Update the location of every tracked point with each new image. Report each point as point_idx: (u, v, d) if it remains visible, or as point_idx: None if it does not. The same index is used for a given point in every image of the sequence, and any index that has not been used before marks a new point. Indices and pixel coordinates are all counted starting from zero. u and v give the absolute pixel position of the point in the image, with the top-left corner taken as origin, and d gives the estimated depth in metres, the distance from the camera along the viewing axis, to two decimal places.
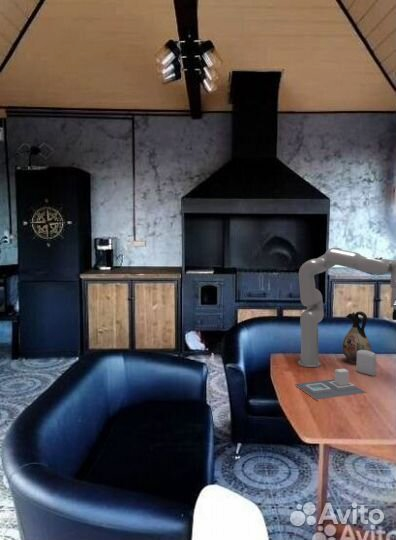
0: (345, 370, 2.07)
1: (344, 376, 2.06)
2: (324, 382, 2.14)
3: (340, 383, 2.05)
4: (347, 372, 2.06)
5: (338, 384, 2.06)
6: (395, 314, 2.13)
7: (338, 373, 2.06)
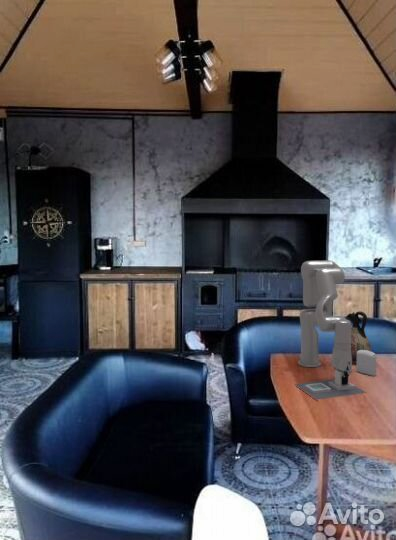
0: None
1: None
2: (324, 382, 2.14)
3: (340, 383, 2.05)
4: None
5: (338, 384, 2.06)
6: (345, 379, 2.05)
7: (338, 373, 2.06)
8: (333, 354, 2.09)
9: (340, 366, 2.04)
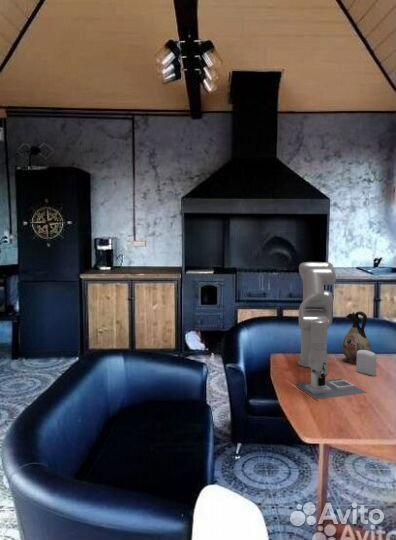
0: (321, 372, 2.04)
1: None
2: None
3: (316, 385, 2.02)
4: None
5: (314, 387, 2.03)
6: (322, 380, 2.00)
7: (314, 375, 2.02)
8: (309, 355, 2.05)
9: (316, 367, 2.00)
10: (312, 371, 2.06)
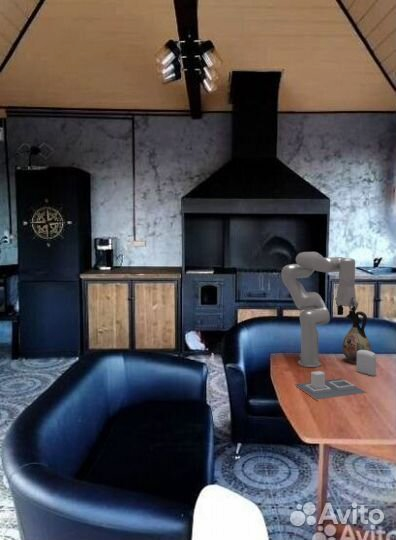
0: (321, 372, 2.04)
1: (320, 379, 2.02)
2: None
3: (316, 385, 2.02)
4: (323, 374, 2.02)
5: (314, 387, 2.03)
6: (353, 313, 2.13)
7: (314, 375, 2.02)
8: (338, 292, 2.20)
9: (344, 302, 2.14)
10: (338, 306, 2.22)
